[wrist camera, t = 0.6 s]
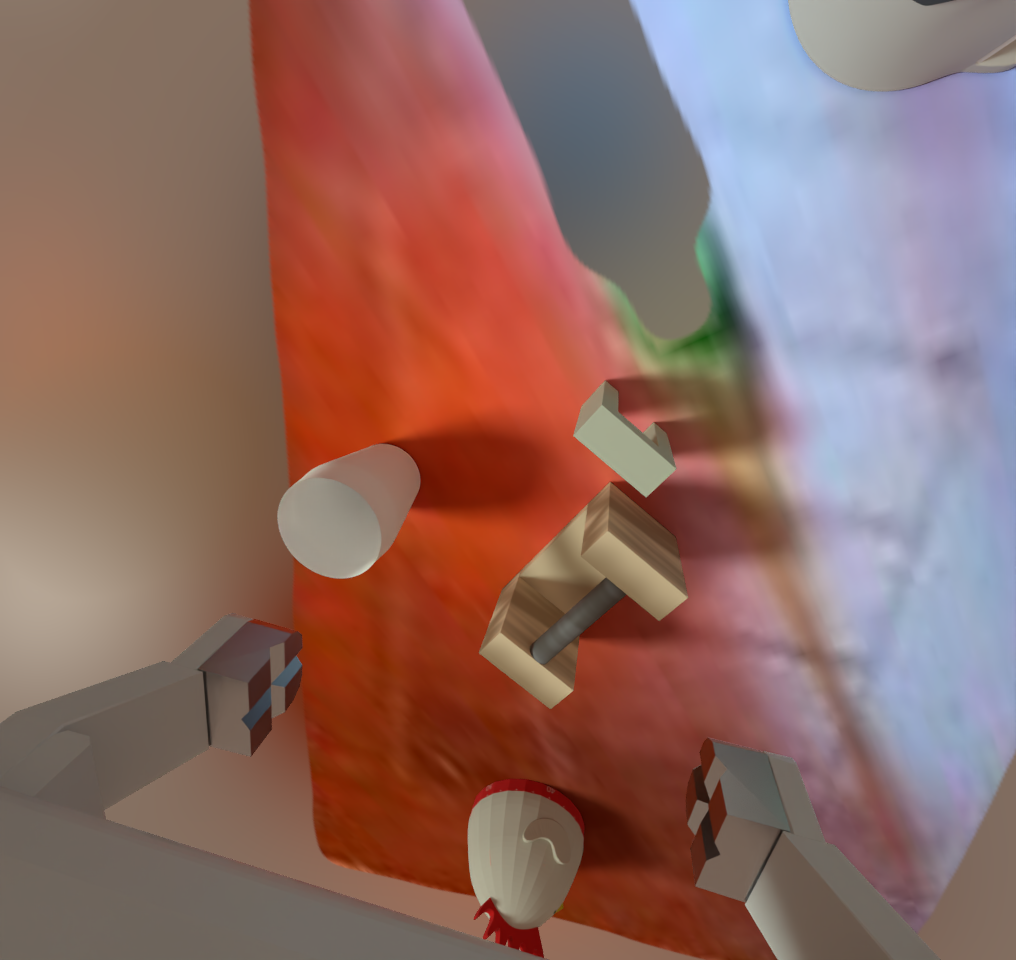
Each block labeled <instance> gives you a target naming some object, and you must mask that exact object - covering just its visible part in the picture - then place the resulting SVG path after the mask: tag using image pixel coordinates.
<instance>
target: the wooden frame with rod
mask: <svg viewBox="0 0 1016 960" xmlns="http://www.w3.org/2000/svg"><path fill="white" fill-rule="evenodd" d="M626 594H627V595H628V596H629V597H630V598H632V599H633V600H634V601H635V602H637V603H638V604H639V605H640V606H641V607H643V608H644V609H645V610H646V611H647V612H649V613H650V614H651V615H652V616H654V617H655V618H656V619H657V620H658V621H660V620H661V619H662V618H664V617H665V616H666V615H667V614H669V613H670V612H671V611H672V610H674V609H675V608H676V607H677V606H679V605H680V604H681V603H682V602H683V601H685V600H686V599H687V598H688V595H687V590H686V585H685V580H684V575H683V570H682V565H681V560H680V555H679V550H678V545H677V540H676V537H675V536H674V535H673V534H671V533H670V532H669V531H668V530H667V529H666V528H664V527H663V526H662V525H661V524H660V523H658V522H657V521H656V520H655V519H654V518H653V517H651V516H650V515H649V514H648V513H647V512H645V511H644V510H643V509H642V508H641V507H640V506H638V505H637V504H636V503H635V502H634V501H632V500H631V499H630V498H629V497H628V496H626V495H625V494H624V493H623V492H622V491H621V490H619V489H618V488H617V487H616V486H615V485H613V484H612V483H611V482H609V483H608V484H607V485H606V486H605V487H604V488H603V489H602V490H601V491H600V492H599V493H598V494H597V495H596V496H595V497H594V498H593V499H592V500H591V501H590V502H589V503H588V504H587V505H586V506H585V507H584V508H583V509H582V510H581V511H580V512H579V513H578V514H577V515H576V516H575V517H574V518H573V519H572V520H571V521H570V522H569V523H568V524H567V525H566V526H565V527H564V528H563V529H562V530H561V531H560V532H559V533H558V534H557V535H556V536H555V537H554V538H553V539H552V540H551V541H550V542H549V543H548V544H547V545H546V546H545V547H544V548H543V549H542V550H541V551H540V552H539V553H538V554H537V555H536V556H535V557H534V558H533V559H532V560H531V561H530V562H529V563H528V564H527V565H526V566H525V567H524V568H523V569H522V570H521V571H520V572H519V573H518V574H517V575H516V576H515V577H514V578H513V579H512V580H511V581H510V582H509V583H508V584H507V585H506V586H505V587H504V588H503V589H502V591H501V594H500V597H499V599H498V602H497V605H496V607H495V610H494V613H493V616H492V618H491V621H490V624H489V627H488V629H487V632H486V635H485V637H484V640H483V643H482V646H481V648H480V651H479V653H480V654H481V655H482V656H483V657H485V658H486V659H487V660H488V661H490V662H491V663H492V664H494V665H495V666H496V667H497V668H499V669H500V670H501V671H502V672H504V673H505V674H506V675H508V676H509V677H510V678H511V679H513V680H514V681H515V682H516V683H518V684H519V685H520V686H522V687H523V688H524V689H525V690H527V691H528V692H529V693H530V694H532V695H533V696H534V697H536V698H537V699H538V700H539V701H541V702H542V703H543V704H544V705H546V706H547V707H548V708H550V709H551V708H553V707H554V706H555V705H556V704H557V703H559V702H560V701H561V700H562V699H564V698H565V697H566V696H567V695H569V694H570V693H571V692H572V691H573V690H574V681H575V672H576V663H577V654H578V645H579V636H580V634H581V633H582V632H584V631H585V630H586V629H587V628H588V627H589V626H591V625H592V624H593V623H594V622H595V621H596V620H598V619H599V618H600V617H601V616H602V615H603V614H604V613H606V612H607V611H608V610H609V609H610V608H611V607H613V606H614V605H615V604H616V603H617V602H618V601H619V600H621V599H622V598H623V597H624V596H625V595H626Z"/></svg>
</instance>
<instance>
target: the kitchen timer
mask: <svg viewBox="0 0 1016 960" xmlns="http://www.w3.org/2000/svg"><path fill="white" fill-rule="evenodd" d="M583 846H584V822H583V819H582V816H581V814H580V812H579V810H578V809H577V808H576V806H575V805H574V804H573V803H572V801H571V800H569V799H568V798H567V797H566V796H564V795H563V794H562V793H561V792H559V791H558V790H556V789H553V788H551V787H549V786H547V785H545V784H543V783H539V782H535V781H531V780H527V779H507V780H502V781H497V782H494V783H492V784H491V785H489V786H487V787H485V788H484V789H483V790H482V791H481V792H480V793H479V794H478V795H477V796H476V799H475V802H474V805H473V808H472V811H471V815H470V819H469V824H468V854H469V868H470V876H471V881H472V885H473V888H474V891H475V894H476V896H477V898H478V901H479V902H480V905H481V907H480V908H479V910H478V911H477V913H476V915H475V917H474V920H475V919H476V918H478V917H479V916H480V915H481V914H482V913H484V912H485V914H486V915H487V917H488V918H489V919H490V921H489V924H488V927H487V929H486V931H485V933H484V936H483V939H487V938H488V937H489V936H490V935H491V934H492V933H493V932H494V931H495V933H496V941H495V943H497V944H501V945H504V946H505V945H506V942H507V941H508V947H510V948H513V949H517V950H519V948H520V949H521V951H523V952H526V953H529V954H532V955H536V956H539V957H542V958H544V955H543V949H542V945H541V940H540V936H539V930H538V927H540V926H541V925H542V924H543V923H545V922H546V921H547V920H548V919H549V918H550V917H552V916H553V915H554V913H556V912H558V911H560V910H561V909H563V901H564V899H565V897H566V895H567V893H568V891H569V889H570V887H571V885H572V882H573V880H574V878H575V875H576V873H577V870H578V867H579V865H580V862H581V858H582V854H583Z"/></svg>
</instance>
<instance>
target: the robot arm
mask: <svg viewBox="0 0 1016 960" xmlns="http://www.w3.org/2000/svg"><path fill="white" fill-rule="evenodd" d="M788 3H789V10H790V15H791V19H792V23H793V26H794V29H795V32H796V35H797V37H798V39H799V41H800V43H801V45H802V47H803V49H804V50H805V52H806V53H807V55H808V56H809V57H810V59H811V60H812V61H813V62H814V63H815V64H816V65H817V67H819V68H820V69H821V70H822V71H823V72H824V73H826V74H827V75H828V76H830V77H831V78H833V79H835V80H836V81H838V82H840V83H843V84H845V85H848V86H850V87H853V88H857V89H862V90H867V91H896V90H902V89H907V88H912V87H915V86H919V85H922V84H925V83H928V82H930V81H933V80H936V79H938V78H941V77H944V76H947V75H950V74H953V73H958V72H972V73H996V72H1003V71H1006V70H1009V69H1011V68H1013V67H1015V66H1016V0H788ZM301 649H302V634H300V633H299V632H298V631H295V630H291V629H288V628H284V627H281V626H277V625H274V624H270V623H267V622H263V621H260V620H256V619H251V618H247V617H244V616H241V615H237V614H234V613H231V614H228V615H225V616H224V617H223V618H221V619H220V620H219V621H218V622H217V623H216V624H214V625H213V626H212V627H211V628H210V629H209V630H208V631H206V632H205V633H204V634H203V635H202V636H201V637H200V638H199V639H197V640H196V641H195V642H194V643H193V644H192V645H190V646H189V647H188V648H187V649H186V650H185V651H183V652H182V653H181V654H180V655H179V656H178V657H177V658H175V659H174V660H173V661H172V662H171V663H169V662H165V661H162V662H159V663H156V664H154V665H151V666H148V667H145V668H142V669H139V670H136V671H133V672H130V673H127V674H125V675H122V676H119V677H116V678H113V679H110V680H107V681H104V682H101V683H99V684H95V685H93V686H90V687H87V688H84V689H81V690H78V691H75V692H72V693H69V694H67V695H64V696H61V697H58V698H55V699H52V700H49V701H46V702H43V703H40V704H37V705H35V706H32V707H29V708H26V709H23V710H20V711H17V712H15V713H14V714H12V715H11V716H10V717H8V718H7V719H6V720H4V721H3V722H2V723H0V960H548V959H545V958H542V957H539V956H536V955H532V954H529V953H526V952H523V951H520V950H517V949H513V948H510V947H507V946H504V945H501V944H497V943H494V942H491V941H488V940H485V939H481V938H478V937H475V936H472V935H469V934H466V933H462V932H459V931H456V930H453V929H450V928H447V927H444V926H440V925H437V924H434V923H431V922H428V921H424V920H422V919H418V918H415V917H412V916H409V915H406V914H402V913H400V912H396V911H393V910H390V909H387V908H384V907H380V906H377V905H374V904H371V903H368V902H365V901H362V900H359V899H355V898H352V897H349V896H346V895H343V894H340V893H337V892H333V891H330V890H327V889H324V888H321V887H318V886H314V885H311V884H308V883H305V882H302V881H299V880H296V879H293V878H289V877H286V876H283V875H280V874H277V873H274V872H270V871H267V870H264V869H261V868H257V867H254V866H251V865H248V864H245V863H242V862H239V861H236V860H233V859H229V858H226V857H223V856H220V855H217V854H214V853H210V852H207V851H204V850H201V849H198V848H195V847H191V846H188V845H185V844H182V843H178V842H175V841H172V840H169V839H166V838H163V837H160V836H157V835H154V834H150V833H147V832H144V831H141V830H137V829H135V828H131V827H128V826H125V825H122V824H119V823H115V822H112V821H109V820H106V817H105V812H104V810H105V809H107V808H109V807H110V806H112V805H114V804H116V803H117V802H119V801H121V800H122V799H124V798H126V797H127V796H129V795H131V794H132V793H134V792H136V791H138V790H139V789H141V788H143V787H144V786H146V785H148V784H150V783H151V782H153V781H155V780H156V779H158V778H160V777H162V776H163V775H165V774H167V773H168V772H170V771H172V770H173V769H175V768H177V767H179V766H180V765H182V764H183V763H185V762H187V761H189V760H191V759H192V758H194V757H196V756H197V755H199V754H201V753H202V752H204V751H206V750H208V749H209V746H211V747H215V748H219V749H223V750H226V751H230V752H234V753H238V754H242V755H246V756H250V757H251V756H252V755H253V753H254V752H255V751H256V749H257V748H258V747H259V745H260V744H261V743H262V742H263V740H264V739H265V738H266V736H267V735H268V734H269V732H270V731H271V730H272V718H273V717H276V716H278V715H280V714H282V713H284V712H285V711H286V710H287V708H288V707H289V706H290V704H291V703H292V701H293V700H294V698H295V695H296V693H297V691H298V688H299V686H300V682H301V677H302V664H301V663H300V661H299V660H298V658H297V656H296V655H297V654H298V653H299V651H300V650H301ZM700 758H701V765H700V766H698V767H696V768H695V769H693V770H692V773H691V776H690V779H689V782H688V787H687V794H686V817H687V824H688V826H689V827H690V829H691V830H692V831H693V833H694V834H695V838H694V840H693V843H692V845H691V848H690V850H691V858H692V865H693V873H694V881H695V886H696V887H699V888H702V889H705V890H708V891H711V892H715V893H718V894H721V895H724V896H727V897H730V898H733V899H736V900H739V901H743V902H746V904H745V906H746V907H747V909H748V911H749V912H750V914H751V916H752V917H753V919H754V921H755V922H756V924H757V926H758V927H759V929H760V931H761V932H762V934H763V936H764V937H765V939H766V941H767V942H768V944H769V946H770V947H771V949H772V951H773V952H774V954H775V956H776V957H777V959H778V960H940V959H939V958H938V956H937V955H936V954H935V953H934V952H933V951H932V950H931V949H930V948H929V947H928V946H927V945H926V943H924V941H923V940H922V939H921V938H920V937H919V936H918V935H917V934H916V933H915V932H914V930H913V929H912V928H911V927H910V926H909V925H908V924H907V923H906V922H905V921H904V920H903V919H902V918H901V916H900V915H899V914H898V913H897V912H896V911H895V910H894V909H893V908H892V907H891V906H890V905H889V904H888V902H887V901H886V900H885V899H884V898H883V897H882V896H881V895H880V894H879V893H878V892H877V891H876V889H875V888H874V887H873V886H872V885H871V884H870V883H869V882H868V881H867V880H866V879H865V878H864V877H863V875H862V874H861V873H860V872H859V871H858V870H857V869H856V868H855V867H854V866H853V865H852V864H851V863H850V861H849V860H848V859H847V858H846V857H845V856H844V855H843V854H842V853H841V852H840V851H839V850H838V848H837V847H836V846H835V845H832V844H828V843H826V842H825V840H824V837H823V834H822V832H821V829H820V826H819V823H818V821H817V818H816V815H815V813H814V810H813V807H812V804H811V802H810V799H809V796H808V794H807V791H806V788H805V785H804V783H803V780H802V777H801V775H800V772H799V769H798V766H797V764H796V762H795V761H794V760H793V759H792V758H790V757H786V756H781V755H777V754H773V753H769V752H765V751H763V752H762V751H760V750H756V749H752V748H748V747H744V746H740V745H736V744H732V743H728V742H724V741H720V740H716V739H712V738H707V739H706V740H705V741H704V743H703V745H702V747H701V750H700Z"/></svg>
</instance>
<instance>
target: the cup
mask: <svg viewBox="0 0 1016 960" xmlns="http://www.w3.org/2000/svg"><path fill="white" fill-rule="evenodd" d="M420 481H421V480H420V473H419V469H418V467H417V465H416V463H415V461H414V460H413V459H412V457H411V456H410V455H409V454H408V453H406V452H405V451H404V450H402V449H401V448H399V447H396V446H394V445H390V444H377V445H373V446H371V447H368V448H365V449H362V450H360V451H357V452H354V453H352V454H349V455H346V456H344V457H341V458H338V459H335V460H333V461H330V462H327V463H325V464H322V465H320V466H318V467H316V468H314V469H312V470H311V471H310V472H308V473H307V474H306V475H305V476H304V477H303V478H301V479H300V480H299V481H298V482H297V483H295V484H294V485H293V486H292V487H290V488H289V489H288V490H287V491H286V493H285V494H284V495H283V497H282V499H281V501H280V504H279V508H278V526H279V531H280V534H281V537H282V539H283V541H284V543H285V545H286V547H287V548H288V550H289V551H290V552H291V554H292V555H293V556H294V557H295V558H296V559H297V560H298V561H299V562H300V563H301V564H303V565H304V566H305V567H307V568H308V569H310V570H312V571H314V572H316V573H318V574H320V575H323V576H326V577H331V578H350V577H354V576H357V575H360V574H362V573H363V572H365V571H366V570H368V569H369V568H370V567H371V566H372V565H373V564H374V563H375V562H376V561H377V560H378V559H379V558H380V557H381V556H382V555H383V554H384V553H385V552H386V551H387V550H388V549H389V548H390V546H391V545H392V543H393V542H394V540H395V538H396V536H397V534H398V532H399V530H400V528H401V526H402V524H403V522H404V520H405V518H406V516H407V514H408V512H409V510H410V508H411V506H412V504H413V502H414V500H415V498H416V496H417V494H418V491H419V488H420Z"/></svg>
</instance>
